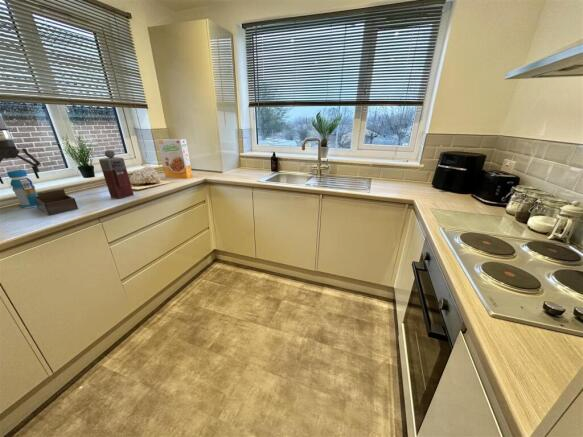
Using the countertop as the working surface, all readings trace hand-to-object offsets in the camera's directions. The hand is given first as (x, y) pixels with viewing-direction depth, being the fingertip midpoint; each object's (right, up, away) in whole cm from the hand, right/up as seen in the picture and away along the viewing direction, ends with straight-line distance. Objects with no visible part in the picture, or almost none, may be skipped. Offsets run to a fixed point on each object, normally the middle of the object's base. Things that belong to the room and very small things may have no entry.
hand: (21, 180), depth 129 cm
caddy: (+19, -15, +1) cm, 24 cm away
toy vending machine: (+42, -7, +20) cm, 47 cm away
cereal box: (+53, +14, +70) cm, 89 cm away
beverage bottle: (0, -14, +5) cm, 15 cm away
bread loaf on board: (+39, +4, +46) cm, 61 cm away
